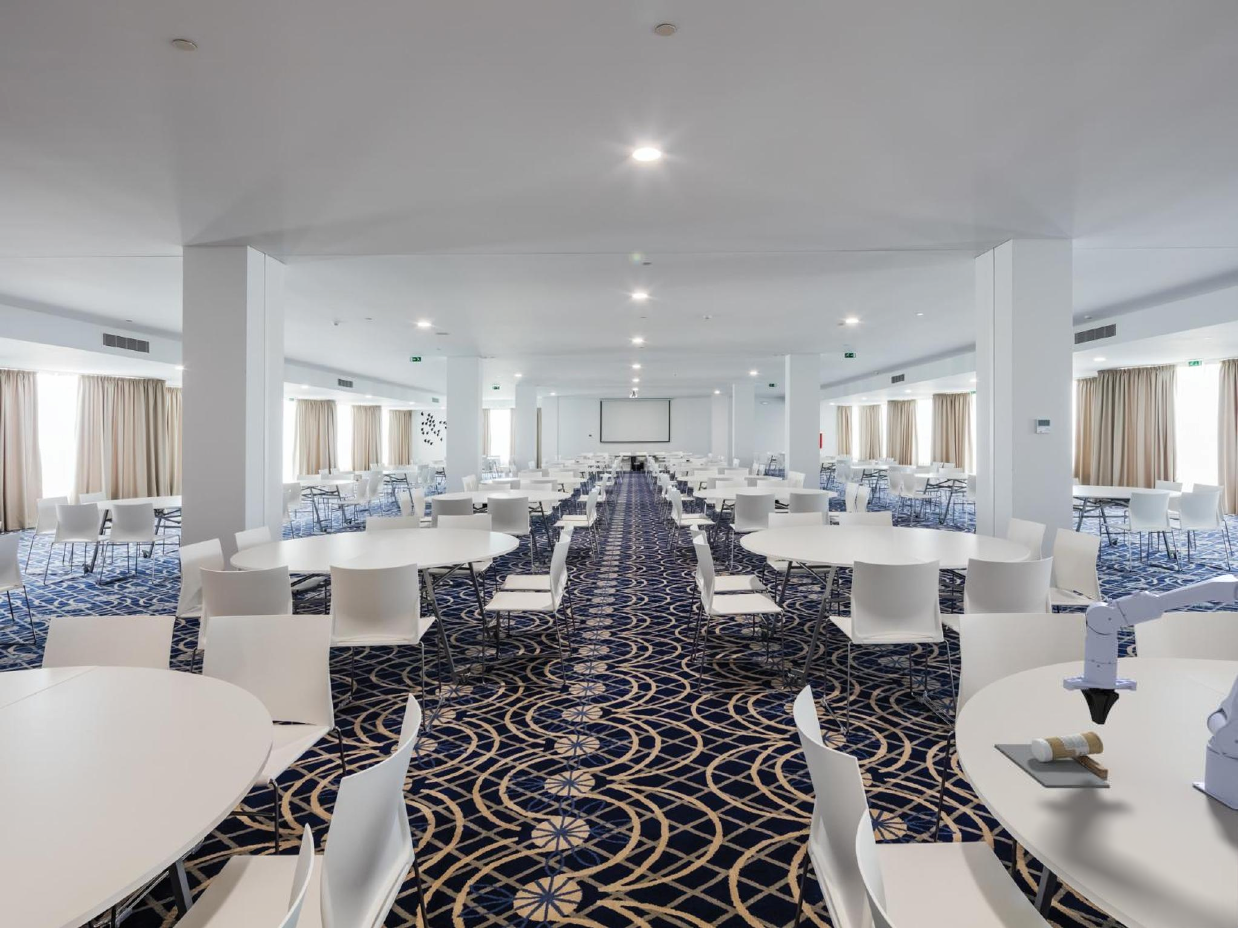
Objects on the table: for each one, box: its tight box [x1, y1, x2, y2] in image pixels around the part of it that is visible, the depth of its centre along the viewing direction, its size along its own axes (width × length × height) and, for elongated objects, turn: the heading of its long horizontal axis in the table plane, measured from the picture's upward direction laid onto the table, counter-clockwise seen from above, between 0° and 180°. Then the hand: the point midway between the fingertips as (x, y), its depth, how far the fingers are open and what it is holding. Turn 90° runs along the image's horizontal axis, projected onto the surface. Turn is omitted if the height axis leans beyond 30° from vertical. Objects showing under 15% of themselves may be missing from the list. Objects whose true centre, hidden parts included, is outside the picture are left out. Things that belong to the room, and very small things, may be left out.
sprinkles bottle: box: [1031, 731, 1104, 762], centre depth 148 cm, size 5×5×14 cm
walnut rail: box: [1072, 755, 1109, 778], centre depth 146 cm, size 10×2×2 cm, turn 1°
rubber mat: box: [994, 743, 1111, 788], centre depth 146 cm, size 18×13×1 cm
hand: (1098, 722), depth 146 cm, fingers closed
